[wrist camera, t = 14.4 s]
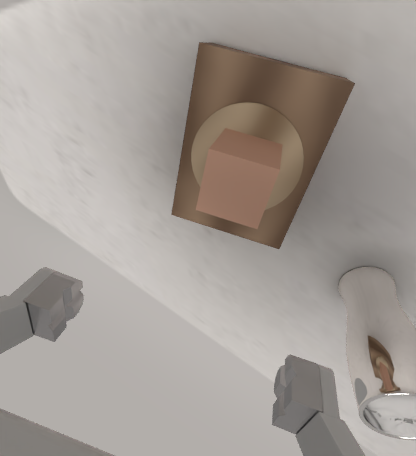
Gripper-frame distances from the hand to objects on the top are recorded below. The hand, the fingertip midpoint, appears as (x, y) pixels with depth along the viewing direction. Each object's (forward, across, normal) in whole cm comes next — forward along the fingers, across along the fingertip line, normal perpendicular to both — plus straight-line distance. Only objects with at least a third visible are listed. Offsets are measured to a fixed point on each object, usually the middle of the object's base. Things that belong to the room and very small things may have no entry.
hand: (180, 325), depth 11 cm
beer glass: (+23, -18, +12) cm, 31 cm away
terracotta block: (+18, 0, 0) cm, 18 cm away
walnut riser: (+22, 0, 0) cm, 23 cm away
